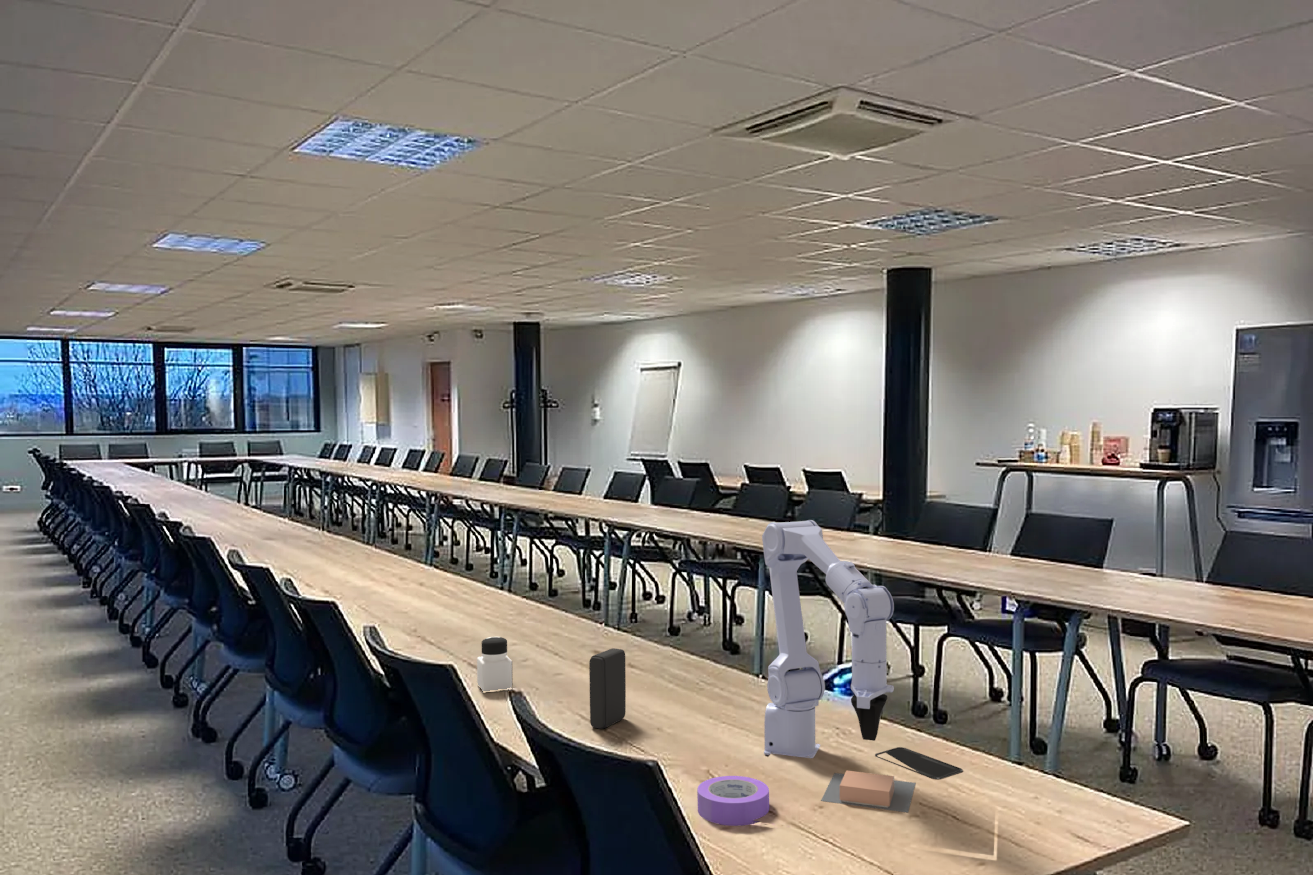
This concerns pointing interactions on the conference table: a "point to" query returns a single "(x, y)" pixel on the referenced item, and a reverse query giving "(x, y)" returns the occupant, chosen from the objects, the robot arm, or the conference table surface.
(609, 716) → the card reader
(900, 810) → the mat
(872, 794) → the light brown rectangular block
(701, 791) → the masking tape
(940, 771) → the phone
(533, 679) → the conference table surface
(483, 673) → the medicine bottle
